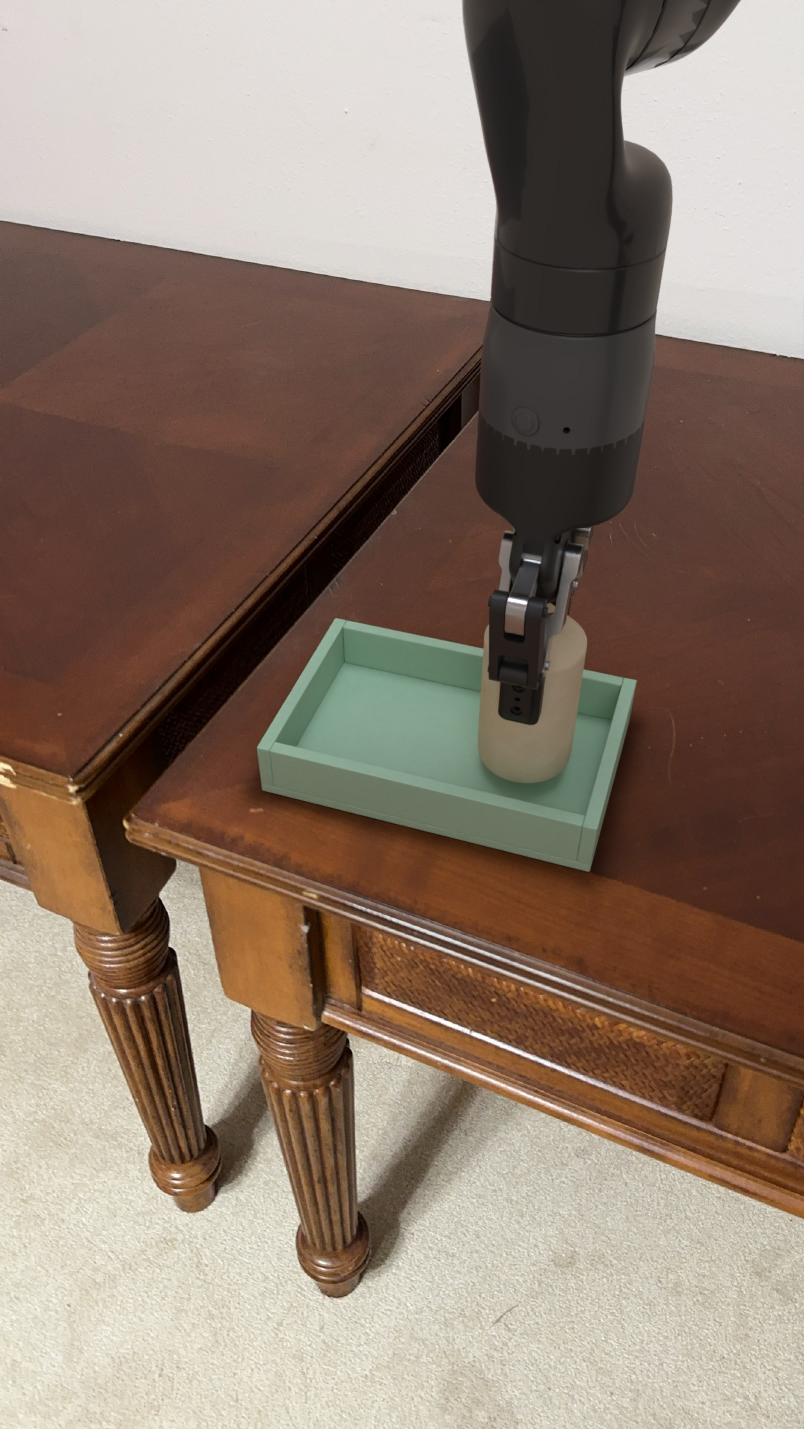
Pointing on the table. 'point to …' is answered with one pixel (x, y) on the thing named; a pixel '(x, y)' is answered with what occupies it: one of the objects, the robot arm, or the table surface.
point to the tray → (436, 746)
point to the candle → (550, 740)
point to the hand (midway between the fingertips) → (532, 680)
